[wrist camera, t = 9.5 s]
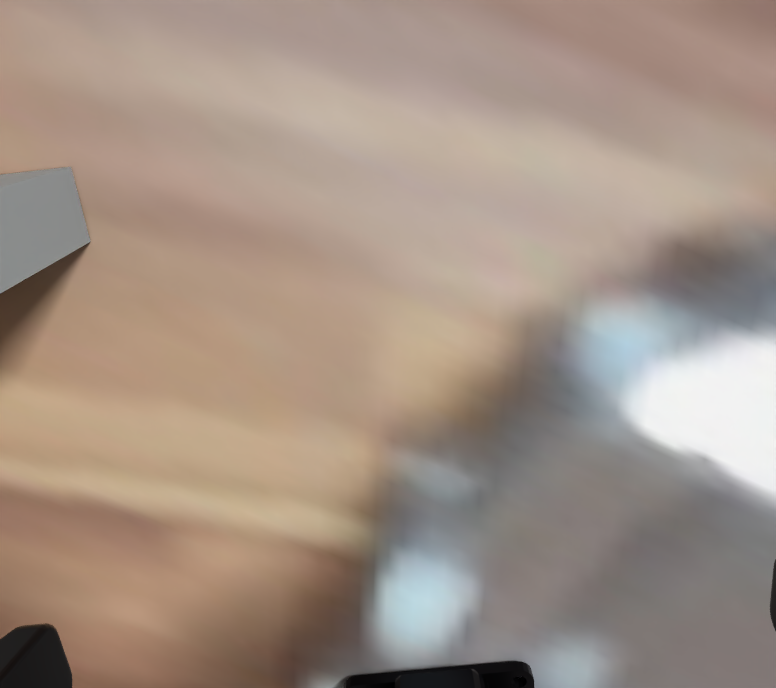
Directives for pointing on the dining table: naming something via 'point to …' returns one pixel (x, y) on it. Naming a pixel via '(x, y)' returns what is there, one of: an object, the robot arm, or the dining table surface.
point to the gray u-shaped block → (38, 222)
